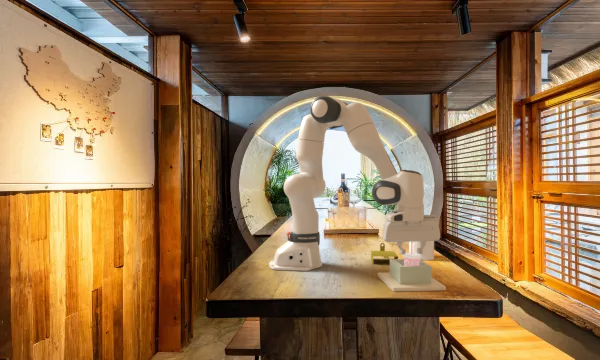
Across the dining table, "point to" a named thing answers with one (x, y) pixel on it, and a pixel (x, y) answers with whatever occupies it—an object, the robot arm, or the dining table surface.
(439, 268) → the dining table surface
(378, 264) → the dining table surface
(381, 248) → the bracket
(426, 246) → the jar
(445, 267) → the dining table surface
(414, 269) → the cup well
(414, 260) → the beverage cup
